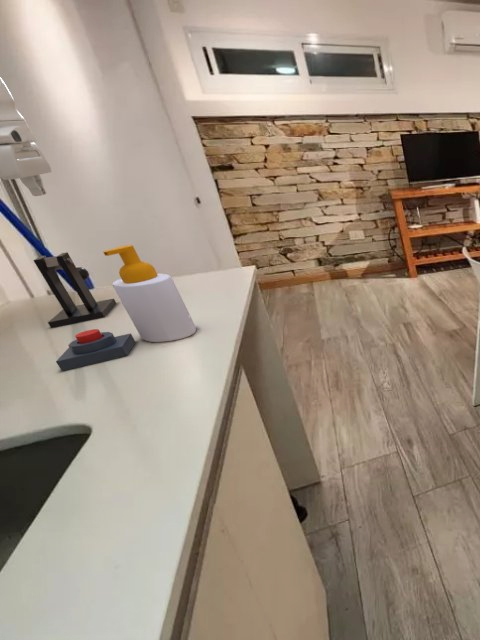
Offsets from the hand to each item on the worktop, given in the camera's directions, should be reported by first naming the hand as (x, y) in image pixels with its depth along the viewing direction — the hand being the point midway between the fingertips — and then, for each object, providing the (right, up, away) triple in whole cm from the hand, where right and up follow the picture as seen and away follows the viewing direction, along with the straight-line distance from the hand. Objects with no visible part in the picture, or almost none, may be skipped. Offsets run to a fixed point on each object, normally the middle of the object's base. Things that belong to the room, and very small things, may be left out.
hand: (40, 195), depth 118 cm
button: (+35, -36, -21) cm, 54 cm away
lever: (+3, -20, +4) cm, 20 cm away
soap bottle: (+42, -35, -11) cm, 56 cm away
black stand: (+6, -30, +5) cm, 31 cm away
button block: (+35, -39, -19) cm, 56 cm away
